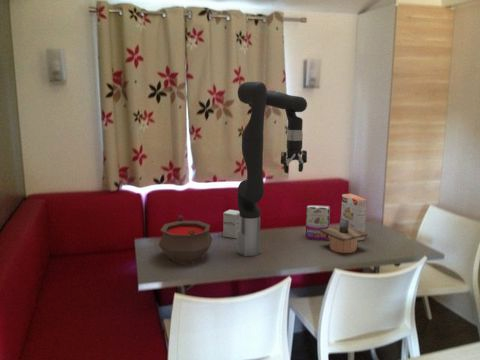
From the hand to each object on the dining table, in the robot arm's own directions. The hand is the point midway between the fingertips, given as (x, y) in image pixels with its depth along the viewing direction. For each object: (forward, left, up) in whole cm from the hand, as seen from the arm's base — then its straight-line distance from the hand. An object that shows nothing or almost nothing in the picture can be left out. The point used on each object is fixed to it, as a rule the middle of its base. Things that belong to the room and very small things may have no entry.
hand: (293, 172), depth 204 cm
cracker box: (+27, -15, -33) cm, 45 cm away
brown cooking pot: (-57, +1, -33) cm, 66 cm away
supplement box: (-25, +16, -33) cm, 45 cm away
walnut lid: (+11, -25, -26) cm, 38 cm away
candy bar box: (+10, -8, -33) cm, 36 cm away
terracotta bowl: (+11, -25, -33) cm, 43 cm away
